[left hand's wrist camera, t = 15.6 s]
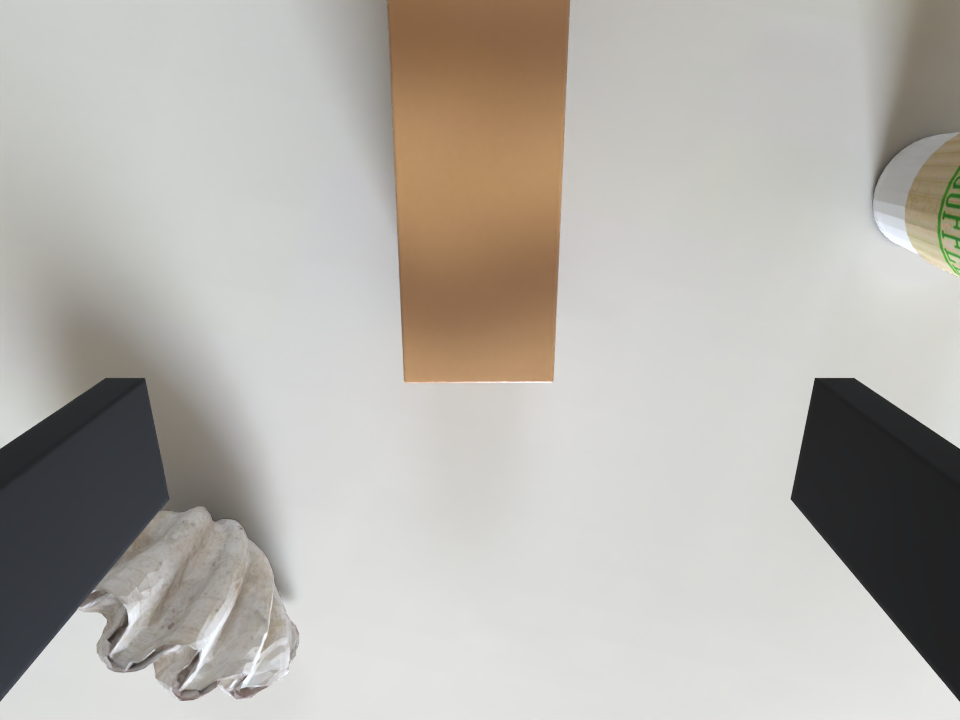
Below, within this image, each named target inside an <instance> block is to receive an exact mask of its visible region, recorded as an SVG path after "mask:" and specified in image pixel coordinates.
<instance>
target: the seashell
mask: <svg viewBox="0 0 960 720" xmlns="http://www.w3.org/2000/svg"><path fill="white" fill-rule="evenodd" d="M78 609H79V610H81V611H83V612H98V613H101V614H102V615H103V616H104V617H105V618H106V619H107V624H106V626H105V628H104V630H103V633H102V636H101V638H100V640H99V641H98V643H97V653H98V655H99V657H100V659H101V661H102V662H103V663H104V664H106V666H107V668H108V669H110V670H112V671H114V672H122V673H124V672H134V671H138V670H141V669H144V668H146V667H147V666H148V665H150V664H151V663H154V669H155V677H156V679H157V680H158V682H159V684H160V685H162V687H163V688H164V689H165V690H167V691H168V692H169V693H171V694H172V695H173V696H174V697H175V698H177V699H178V700H180V701H186V700H195V699H199V698H200V697H202V696H204V695H205V694H207V693H209V692H210V691H212V690H213V689H215V688H216V687H218V688H219V689H220V690H222V691H224V692H225V693H227V694H228V695H229V696H231V697H233V698H235V699H244V698H251V697H252V696H254V695H255V694H256V693H258V692H259V691H261V690H263V689H264V688H266V687H268V686H270V685H272V684H273V683H275V682H276V681H278V680H279V679H280V678H282V677H283V676H284V675H285V674H287V673H288V672H289V664H290V663H291V662H292V661H293V659H294V658H295V656H296V649H297V647H298V645H299V633H298V630H297V628H296V625H295V624H294V623H293V622H292V621H291V620H290V618H289V617H288V615H287V614H286V610H285V607H284V605H283V602H282V600H281V597H280V595H279V593H278V591H277V589H276V586H275V584H274V575H273V571H272V568H271V566H270V563H269V561H268V559H267V557H266V556H265V554H264V553H263V551H262V550H261V549H260V548H259V547H258V546H257V545H256V544H255V543H254V542H253V541H251V540H249V539H248V538H247V535H246V533H245V530H244V528H243V527H242V526H241V525H240V524H239V523H238V522H237V521H235V520H232V519H220V520H218V521H216V522H215V521H213V520H212V517H211V515H210V513H209V512H208V511H207V509H206V508H205V507H199V506H197V507H194V508H192V509H189V510H187V511H185V512H174V511H167V510H162V511H159V512H158V513H157V514H156V516H155V517H154V518H153V519H152V520H151V522H150V523H149V524H148V525H147V526H146V528H145V529H144V530H143V531H142V532H141V534H140V535H139V536H138V537H137V538H136V540H135V541H134V542H133V543H132V544H131V546H130V547H129V548H128V549H127V550H126V552H125V553H124V554H123V555H122V556H121V558H120V559H119V560H118V561H117V562H116V564H115V565H114V566H113V567H112V568H111V570H110V571H109V572H108V573H107V574H106V576H105V577H104V578H103V579H102V580H101V582H100V583H99V584H98V585H97V586H96V587H95V589H94V590H93V591H92V592H91V593H90V595H89V596H88V597H87V598H86V599H85V601H84V602H83V603H82V604H81V605H80V607H79V608H78Z"/></svg>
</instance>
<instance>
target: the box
mask: <svg viewBox="0 0 960 720" xmlns="http://www.w3.org/2000/svg"><path fill="white" fill-rule="evenodd" d="M387 8H388V31H389V53H390V76H391V98H392V121H393V143H394V166H395V188H396V211H397V233H398V256H399V278H400V301H401V323H402V346H403V368H404V381H405V382H406V383H551V382H553V379H554V356H555V333H556V310H557V287H558V264H559V241H560V218H561V195H562V172H563V149H564V126H565V103H566V80H567V57H568V34H569V11H570V0H387Z"/></svg>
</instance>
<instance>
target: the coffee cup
mask: <svg viewBox="0 0 960 720" xmlns="http://www.w3.org/2000/svg"><path fill="white" fill-rule="evenodd" d="M873 212H874V217H875V221H876V223H877V225H878V227H879V229H880V230H881V232H882V233H883V234H884V235H885V237H887V238H888V239H889V240H891V241H892V242H894V243H896V244H898V245H900V246H902V247H904V248H906V249H908V250H910V251H912V252H914V253H917V254H919V255H920V256H921V257H922V258H924V259H925V260H926V261H928V262H929V263H931V264H933V265H935V266H937V267H939V268H941V269H943V270H945V271H947V272H949V273H951V274H953V275H955V276H957V277H959V278H960V132H953V133H947V134H941V135H935V136H930V137H925V138H923V139H920V140H918V141H916V142H913V143H912V144H910V145H909V146H907V147H906V148H904V149H903V150H901V151H900V152H899V153H898V154H897V155H896V156H895V157H894V158H893V159H892V160H891V161H890V162H889V164H888V165H887V166H886V167H885V169H884V171H883V172H882V174H881V176H880V178H879V180H878V183H877V185H876V188H875V193H874V198H873Z"/></svg>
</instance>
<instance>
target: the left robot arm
mask: <svg viewBox="0 0 960 720" xmlns="http://www.w3.org/2000/svg"><path fill="white" fill-rule="evenodd" d="M168 500H169V495H168V490H167V485H166V480H165V475H164V470H163V465H162V460H161V455H160V450H159V445H158V440H157V435H156V430H155V425H154V420H153V415H152V410H151V405H150V400H149V396H148V391H147V386H146V381H145V378H105V379H104V380H102V381H101V382H99V383H98V384H96V385H95V386H93V387H92V388H90V389H89V390H87V391H86V392H84V393H83V394H81V395H80V396H78V397H77V398H76V399H74V400H73V401H71V402H70V403H68V404H67V405H65V406H64V407H62V408H61V409H59V410H58V411H56V412H55V413H53V414H52V415H50V416H49V417H47V418H46V419H44V420H43V421H41V422H40V423H38V424H37V425H35V426H34V427H32V428H31V429H29V430H28V431H26V432H25V433H23V434H22V435H20V436H19V437H17V438H16V439H14V440H13V441H11V442H10V443H8V444H7V445H5V446H4V447H2V448H1V449H0V701H1V700H2V699H3V698H4V696H5V695H6V694H7V693H8V692H9V690H10V689H11V688H12V687H13V686H14V684H15V683H16V682H17V681H18V680H19V678H20V677H21V676H22V675H23V674H24V672H25V671H26V670H27V669H28V668H29V666H30V665H31V664H32V663H33V662H34V660H35V659H36V658H37V657H38V656H39V655H40V653H41V652H42V651H43V650H44V649H45V647H46V646H47V645H48V644H49V643H50V641H51V640H52V639H53V638H54V637H55V635H56V634H57V633H58V632H59V631H60V629H61V628H62V627H63V626H64V625H65V623H66V622H67V621H68V620H69V619H70V617H71V616H72V615H73V614H74V613H75V611H76V610H77V609H78V608H79V607H80V605H81V604H82V603H83V602H84V601H85V599H86V598H87V597H88V596H89V595H90V593H91V592H92V591H93V590H94V589H95V587H96V586H97V585H98V584H99V583H100V582H101V580H102V579H103V578H104V577H105V576H106V574H107V573H108V572H109V571H110V570H111V568H112V567H113V566H114V565H115V564H116V562H117V561H118V560H119V559H120V558H121V556H122V555H123V554H124V553H125V552H126V550H127V549H128V548H129V547H130V546H131V544H132V543H133V542H134V541H135V540H136V538H137V537H138V536H139V535H140V534H141V532H142V531H143V530H144V529H145V528H146V526H147V525H148V524H149V523H150V522H151V520H152V519H153V518H154V517H155V516H156V514H157V513H158V512H159V511H160V510H161V509H162V507H163V506H164V505H165V504H166V503H167V501H168ZM791 500H792V501H793V503H794V504H795V505H796V506H797V507H798V509H799V510H800V511H801V512H802V513H803V514H804V516H805V517H806V518H807V519H808V520H809V522H810V523H811V524H812V525H813V526H814V528H815V529H816V530H817V531H818V532H819V534H820V535H821V536H822V537H823V538H824V540H825V541H826V542H827V543H828V544H829V546H830V547H831V548H832V549H833V550H834V552H835V553H836V554H837V555H838V556H839V558H840V559H841V560H842V561H843V562H844V564H845V565H846V566H847V567H848V568H849V570H850V571H851V572H852V573H853V574H854V576H855V577H856V578H857V579H858V580H859V582H860V583H861V584H862V585H863V586H864V587H865V589H866V590H867V591H868V592H869V593H870V595H871V596H872V597H873V598H874V599H875V601H876V602H877V603H878V604H879V605H880V607H881V608H882V609H883V610H884V611H885V613H886V614H887V615H888V616H889V617H890V619H891V620H892V621H893V622H894V623H895V625H896V626H897V627H898V628H899V629H900V631H901V632H902V633H903V634H904V635H905V637H906V638H907V639H908V640H909V641H910V643H911V644H912V645H913V646H914V647H915V649H916V650H917V651H918V652H919V653H920V655H921V656H922V657H923V658H924V659H925V660H926V662H927V663H928V664H929V665H930V666H931V668H932V669H933V670H934V671H935V672H936V674H937V675H938V676H939V677H940V678H941V680H942V681H943V682H944V683H945V684H946V686H947V687H948V688H949V689H950V690H951V692H952V693H953V694H954V695H955V696H956V698H957V699H958V700H959V701H960V449H959V448H958V447H956V446H955V445H953V444H952V443H950V442H949V441H947V440H946V439H944V438H943V437H941V436H940V435H938V434H937V433H935V432H934V431H932V430H931V429H929V428H928V427H926V426H925V425H923V424H922V423H920V422H919V421H917V420H916V419H914V418H913V417H911V416H910V415H908V414H907V413H905V412H904V411H902V410H901V409H899V408H898V407H896V406H895V405H893V404H892V403H890V402H889V401H887V400H886V399H884V398H883V397H881V396H880V395H879V394H877V393H876V392H874V391H873V390H871V389H870V388H868V387H867V386H865V385H864V384H862V383H861V382H859V381H858V380H856V379H855V378H815V381H814V386H813V391H812V395H811V400H810V405H809V410H808V415H807V420H806V425H805V430H804V435H803V440H802V445H801V450H800V455H799V460H798V465H797V470H796V475H795V480H794V485H793V490H792V495H791Z"/></svg>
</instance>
